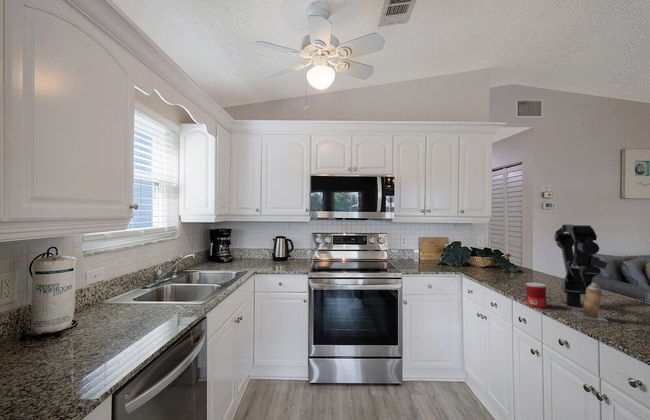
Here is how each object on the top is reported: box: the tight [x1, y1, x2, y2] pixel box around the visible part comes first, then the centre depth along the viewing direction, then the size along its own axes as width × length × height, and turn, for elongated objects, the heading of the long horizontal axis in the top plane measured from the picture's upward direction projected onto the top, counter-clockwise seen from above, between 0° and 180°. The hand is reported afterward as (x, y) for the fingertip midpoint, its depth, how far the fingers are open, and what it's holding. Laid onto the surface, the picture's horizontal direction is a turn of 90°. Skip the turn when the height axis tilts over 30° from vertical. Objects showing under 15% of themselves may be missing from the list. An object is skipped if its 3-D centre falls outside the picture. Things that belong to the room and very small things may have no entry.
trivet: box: [572, 310, 609, 323], centre depth 126 cm, size 9×9×1 cm
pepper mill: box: [581, 281, 603, 318], centre depth 125 cm, size 5×5×15 cm
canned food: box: [525, 281, 547, 309], centre depth 143 cm, size 8×8×11 cm
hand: (582, 285), depth 132 cm, fingers open, 9 cm apart
